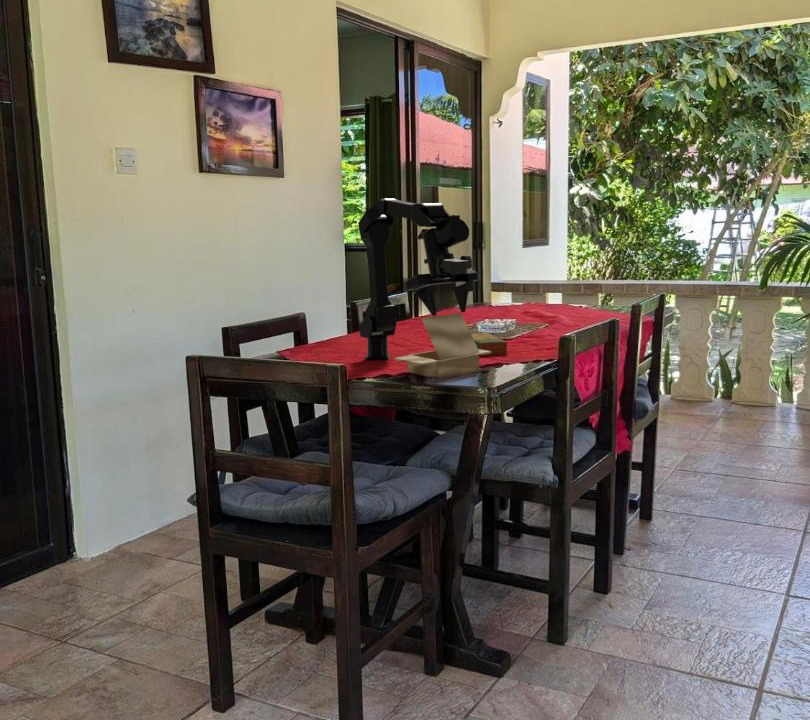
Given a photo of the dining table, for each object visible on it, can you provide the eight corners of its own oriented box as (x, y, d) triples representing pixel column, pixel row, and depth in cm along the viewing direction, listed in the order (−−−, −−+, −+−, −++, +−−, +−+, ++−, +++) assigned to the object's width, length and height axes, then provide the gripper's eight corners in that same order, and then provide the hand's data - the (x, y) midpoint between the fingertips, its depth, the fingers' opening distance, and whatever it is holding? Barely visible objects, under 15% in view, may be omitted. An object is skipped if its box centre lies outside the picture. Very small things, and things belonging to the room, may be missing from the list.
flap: (421, 319, 210) (422, 318, 210) (460, 313, 219) (461, 312, 218) (440, 359, 207) (441, 358, 207) (478, 353, 215) (479, 352, 215)
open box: (392, 374, 214) (392, 357, 213) (460, 362, 229) (460, 346, 228) (423, 382, 205) (423, 364, 204) (492, 368, 220) (492, 351, 219)
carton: (488, 346, 255) (488, 332, 254) (507, 355, 240) (508, 340, 239) (462, 347, 253) (462, 333, 252) (480, 357, 238) (480, 342, 237)
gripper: (425, 245, 197) (438, 310, 197) (486, 242, 208) (498, 304, 207) (399, 257, 207) (411, 319, 206) (458, 253, 217) (470, 313, 216)
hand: (449, 313), depth 208 cm, fingers open, 9 cm apart
